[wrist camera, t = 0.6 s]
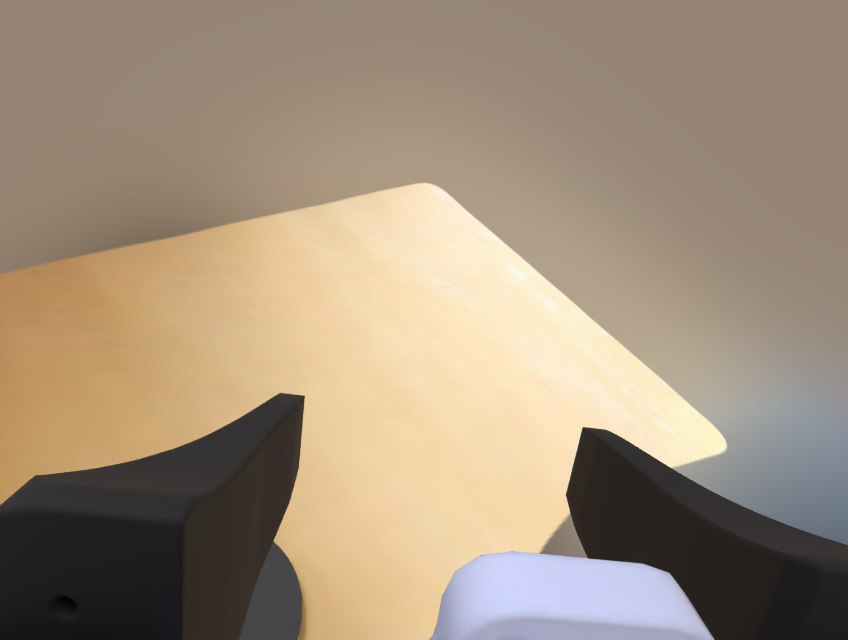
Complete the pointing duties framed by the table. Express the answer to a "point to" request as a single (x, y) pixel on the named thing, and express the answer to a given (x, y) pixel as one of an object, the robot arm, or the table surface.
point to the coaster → (274, 601)
